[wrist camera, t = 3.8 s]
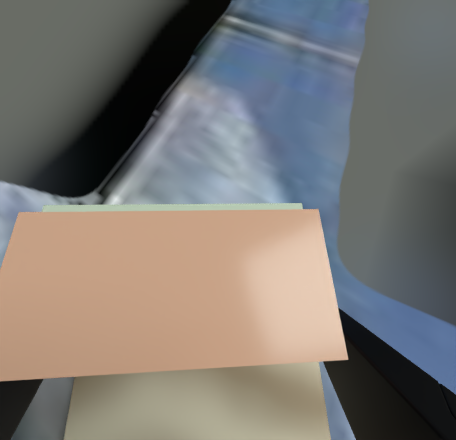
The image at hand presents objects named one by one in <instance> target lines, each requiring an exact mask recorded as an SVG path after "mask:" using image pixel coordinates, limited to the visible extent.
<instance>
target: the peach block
mask: <svg viewBox="0 0 456 440" xmlns="http://www.w3.org/2000/svg"><path fill="white" fill-rule="evenodd" d="M336 360H348V355H347V350H346V345H345V340H344V335H343V330H342V325H341V320H340V315H339V310H338V305H337V300H336V295H335V290H334V285H333V280H332V275H331V270H330V265H329V260H328V255H327V250H326V245H325V240H324V235H323V230H322V225H321V220H320V215H319V210H318V209H303V207H302V203H279V204H154V205H44V206H43V209H42V212H19V214H18V217H17V220H16V223H15V226H14V229H13V232H12V235H11V238H10V241H9V244H8V247H7V251H6V254H5V257H4V260H3V263H2V266H1V269H0V381H13V380H29V379H45V378H61V377H78V376H94V375H110V374H126V373H142V372H158V371H175V370H191V369H207V368H223V367H239V366H256V365H272V364H288V363H304V362H320V361H336Z"/></svg>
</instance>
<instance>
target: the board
mask: <svg viewBox="0 0 456 440" xmlns="http://www.w3.org/2000/svg"><path fill="white" fill-rule="evenodd" d="M64 440H331V438H330V431H329V425H328V419H327V412H326V406H325V400H324V393H323V387H322V381H321V374H320V368H319V362H304V363H288V364H272V365H256V366H239V367H223V368H207V369H191V370H175V371H158V372H142V373H126V374H110V375H94V376H78V377H75V378H74V384H73V389H72V395H71V401H70V406H69V412H68V418H67V423H66V429H65V435H64Z"/></svg>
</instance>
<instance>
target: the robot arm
mask: <svg viewBox="0 0 456 440" xmlns="http://www.w3.org/2000/svg"><path fill="white" fill-rule="evenodd" d="M338 310H339V315H340V320H341V325H342V330H343V335H344V340H345V345H346V350H347V355H348V360H336V361H323V362H324V365H325V368H326V370H327V373H328V375H329V377H330V380H331V382H332V384H333V387H334V389H335V391H336V394H337V396H338V398H339V401H340V403H341V405H342V408H343V410H344V412H345V415H346V417H347V420H348V422H349V424H350V427H351V429H352V431H353V434H354V436H355V438H356V440H456V394H454V393H453V392H452V391H450V390H449V389H448V388H446V387H445V386H443V385H442V384H439V383H438V381H437V380H435V379H434V378H433V377H431V376H430V375H429V374H427V373H426V372H424V371H423V370H422V369H420V368H419V367H418V366H416V365H415V364H414V363H412V362H411V361H410V360H408V359H407V358H406V357H404V356H403V355H402V354H400V353H399V352H397V351H396V350H395V349H393V348H392V347H391V346H389V345H388V344H387V343H385V342H384V341H383V340H381V339H380V338H379V337H377V336H376V335H375V334H373V333H372V332H370V331H369V330H368V329H366V328H365V327H364V326H362V325H361V324H360V323H358V322H357V321H356V320H354V319H353V318H352V317H350V316H349V315H348V314H346V313H345V312H343V311H342V310H341V309H339V308H338ZM42 380H43V379H29V380H13V381H0V440H10V439H11V437H12V436H13V434H14V432H15V430H16V428H17V427H18V425H19V423H20V421H21V419H22V417H23V416H24V414H25V412H26V410H27V408H28V407H29V405H30V403H31V401H32V399H33V397H34V396H35V394H36V392H37V390H38V388H39V386H40V384H41V382H42Z"/></svg>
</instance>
